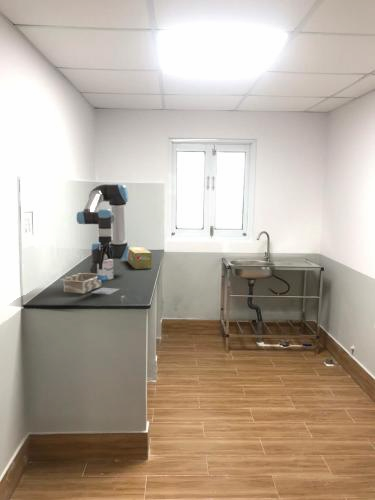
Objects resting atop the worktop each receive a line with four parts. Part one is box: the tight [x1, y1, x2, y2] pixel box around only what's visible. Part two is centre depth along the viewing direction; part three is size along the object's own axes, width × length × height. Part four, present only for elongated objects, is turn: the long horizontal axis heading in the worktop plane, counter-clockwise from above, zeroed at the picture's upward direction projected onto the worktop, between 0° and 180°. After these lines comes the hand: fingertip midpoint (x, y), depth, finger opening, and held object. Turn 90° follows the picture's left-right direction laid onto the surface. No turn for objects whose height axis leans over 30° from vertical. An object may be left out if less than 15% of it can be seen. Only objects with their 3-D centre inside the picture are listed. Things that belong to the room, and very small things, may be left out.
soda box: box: [127, 246, 153, 270], centre depth 346 cm, size 40×14×13 cm, turn 16°
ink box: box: [97, 254, 114, 282], centre depth 249 cm, size 9×5×15 cm, turn 141°
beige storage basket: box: [59, 272, 102, 295], centre depth 256 cm, size 25×18×7 cm
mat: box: [90, 287, 121, 296], centre depth 251 cm, size 14×12×1 cm
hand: (105, 273), depth 249 cm, fingers closed on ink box, 9 cm apart
